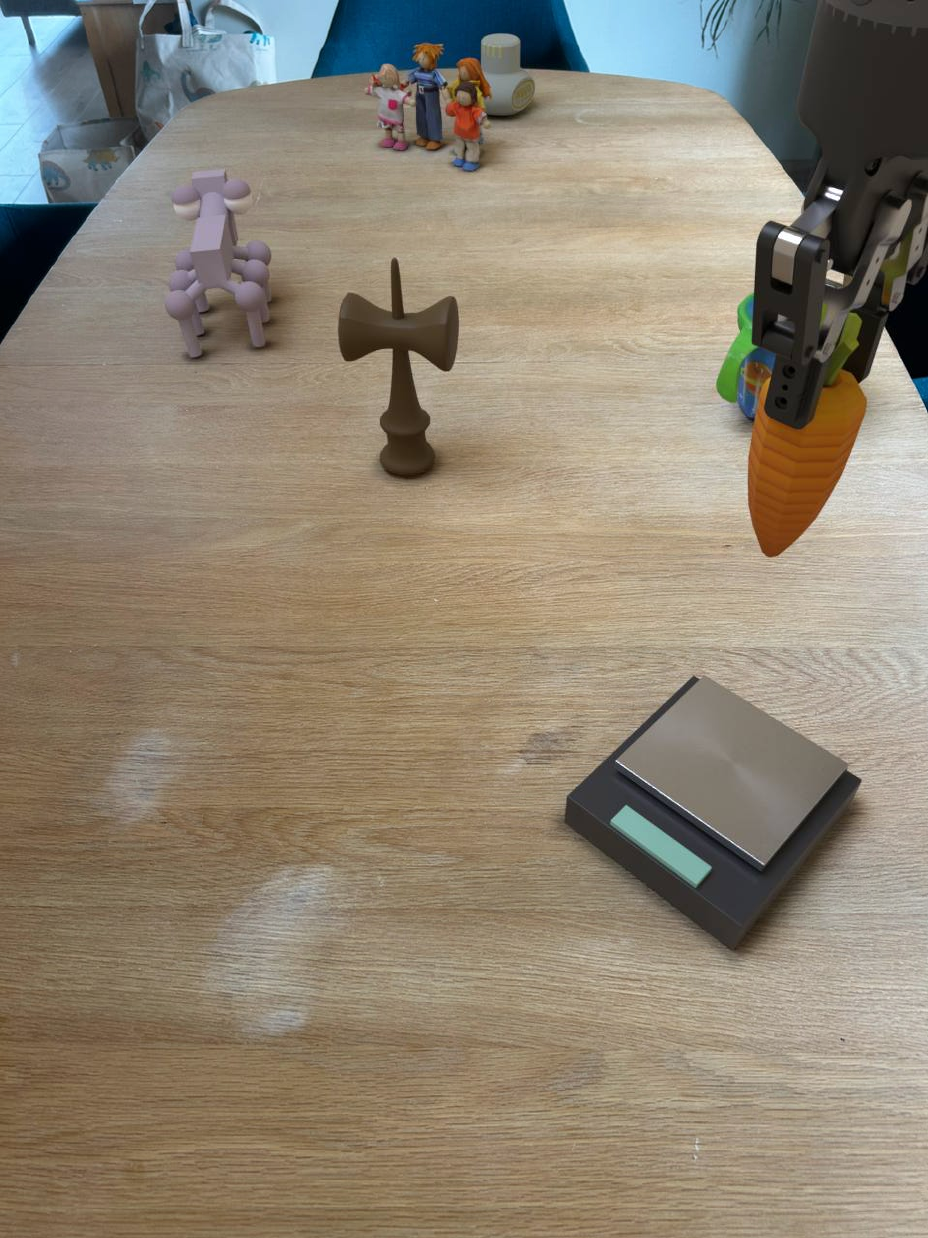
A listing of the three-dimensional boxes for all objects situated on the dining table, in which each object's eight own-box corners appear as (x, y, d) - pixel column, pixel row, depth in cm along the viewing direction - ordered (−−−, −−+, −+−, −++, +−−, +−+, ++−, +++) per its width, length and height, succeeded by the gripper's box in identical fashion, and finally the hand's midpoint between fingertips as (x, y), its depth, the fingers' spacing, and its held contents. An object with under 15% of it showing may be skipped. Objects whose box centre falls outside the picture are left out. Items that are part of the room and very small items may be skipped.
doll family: (364, 143, 147) (356, 44, 138) (403, 123, 153) (398, 26, 143) (483, 175, 139) (483, 71, 129) (520, 152, 144) (523, 51, 135)
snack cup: (802, 361, 104) (826, 269, 97) (873, 413, 98) (904, 318, 90) (677, 400, 100) (693, 306, 92) (743, 457, 93) (765, 360, 86)
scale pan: (702, 682, 69) (704, 674, 69) (846, 771, 64) (849, 763, 63) (613, 768, 64) (614, 760, 64) (761, 872, 59) (764, 865, 58)
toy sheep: (192, 273, 120) (166, 156, 110) (282, 268, 120) (264, 151, 111) (174, 361, 106) (142, 236, 96) (275, 355, 106) (254, 231, 97)
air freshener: (504, 126, 151) (505, 53, 144) (458, 115, 155) (457, 44, 147) (540, 104, 158) (543, 33, 151) (495, 94, 161) (496, 24, 154)
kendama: (453, 487, 90) (448, 279, 76) (349, 478, 91) (325, 271, 77) (463, 448, 94) (460, 243, 80) (364, 440, 96) (343, 237, 81)
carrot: (809, 596, 53) (893, 342, 42) (716, 574, 54) (774, 322, 44) (820, 538, 56) (901, 288, 46) (732, 518, 58) (790, 271, 47)
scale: (687, 702, 73) (694, 670, 70) (850, 805, 66) (864, 775, 64) (563, 822, 66) (566, 791, 63) (732, 951, 59) (743, 923, 57)
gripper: (938, 58, 30) (806, 500, 43) (1114, -33, 37) (958, 368, 50) (728, 10, 34) (662, 429, 46) (925, -65, 41) (823, 316, 53)
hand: (816, 396), depth 48 cm, fingers closed on carrot, 4 cm apart
